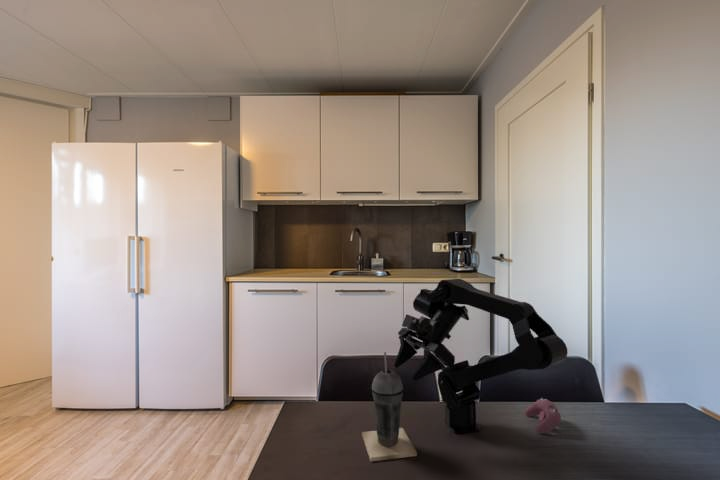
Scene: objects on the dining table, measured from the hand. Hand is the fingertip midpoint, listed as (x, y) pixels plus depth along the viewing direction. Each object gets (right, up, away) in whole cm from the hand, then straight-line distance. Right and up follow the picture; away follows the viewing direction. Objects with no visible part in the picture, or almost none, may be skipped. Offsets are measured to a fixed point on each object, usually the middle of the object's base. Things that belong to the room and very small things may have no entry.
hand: (403, 373), depth 82 cm
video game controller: (+35, -14, +1) cm, 37 cm away
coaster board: (-4, -13, -7) cm, 16 cm away
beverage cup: (-4, -13, -7) cm, 15 cm away
